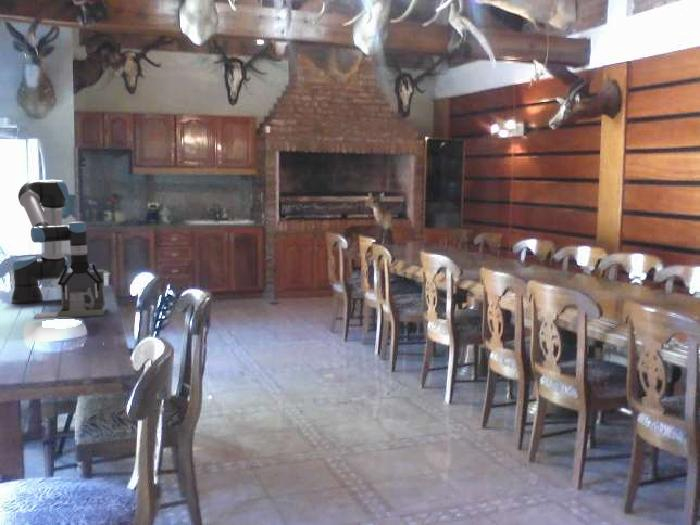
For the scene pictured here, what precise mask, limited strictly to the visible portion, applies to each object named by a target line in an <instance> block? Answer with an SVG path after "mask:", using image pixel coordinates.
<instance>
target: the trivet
mask: <svg viewBox="0 0 700 525" xmlns="http://www.w3.org/2000/svg"><path fill="white" fill-rule="evenodd" d="M50 317H54V318H58V311H57V312H39V313H36V314H35V315H34V316H33V319H50Z"/></svg>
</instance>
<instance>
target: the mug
mask: <svg viewBox="0 0 700 525" xmlns="http://www.w3.org/2000/svg"><path fill="white" fill-rule="evenodd" d="M84 295H88V296H89V297H90V300H91V302H90V303H89V304H87V303H85V301H84V300H85V298H84ZM69 301H70V309H69V311H80V310H86V307H89V308H90V309H93V307H94V301H95V299H94V297H93V295H92V292H91V290H90V287H89V288H88V290H87V293H84V292H71V293H70V299H69Z"/></svg>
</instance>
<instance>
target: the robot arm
mask: <svg viewBox="0 0 700 525" xmlns="http://www.w3.org/2000/svg"><path fill="white" fill-rule="evenodd" d="M17 195H18V196H17V198H18V202H19V204H20V206H22V207H23V208H24V210H25V213H26V215H27V217H28V219H29V222H30V223H31V224H30V225H31V229H30V237H31V238H30V239H31V240H32V242H33V243H40V244H43V243H44V244H43V245H44V247H43V248H44V250H43V252H42V253H41V254H40V255H41V258H38V257H37V256H36V255H33V256H30V255H29V256H23V257H20V258H16V259H15V260H13V262H12V263H13V264H12V267H13V268H12V270H13V271H12V272H13V283H14V289H13V292H12V296H11V303H12V304H33V303H38V302H43V301H44V295H43V294H42V293H43V292H42V290H41V288H40V286H39V282H40V281H49V280H50V281H51V280H58V279H59V280H58V283H57V285H58V286H61V285H62V290H63V292H65V299H66V300H67V299H68V294H67V285H65V284H66V283H67V282H68V280H69V279H70V278H71V277H72V276H73V274H74V273H76V274H80V273H81V274H84V273H86V274H87V275H89V276H90V277H91V278H92V279H93V280H94V281H95V282H96V283H97V284H95V295H96V298H97V297H98V294H97V291H99V290H100V286H99V284H100V283H102V282H103V279H102V278H101V276H100V274H99V273H98V271H99V270H97V267H96V264H95V263H90V264H89V258H88V257H89V256H88V243H87V242H88V240H87V239H88V237H87V236H88V235H87V225H86V222H85V221H70V222H69V224H67V225H66V224H65V225H63V223H62V222H63V217H62V216H63V212H62V210H63V209H64V208H65V207H66V204H67V203H68V202H69V199H70V196H69V190H68V187H67V184H66V182H65V180H61V179H40V180H39V179H37V180H36V179H35V180H29V181H28V182H26V183H24V184H23V185H22V186H21V187H20V189H19V191H18V194H17ZM63 242H69V245H70V246H69V247H70V249H69V250H70V254H71V255H70V265H69V258H68V257H67V256H65V253H64V252H62V251H63V250H62V246H63V245H62V244H63ZM89 268H91V269H92V270H93V271H94V272H95V274H96V275H97V277H98V279H99V281H98V280H97V279H96V278H95V277H94V276H93V275H92V274H91V273H90V272H91V271H90V270H88V269H89ZM69 269H71V270H72V271H71V272H72V273H71V274H70V275H69V276H68V277H67V279H66V280H65V281H64V282H62V280H63V278H64V276H65V274H66V273H68V272H69V271H68V270H69ZM60 273H62V275H61V278H60Z"/></svg>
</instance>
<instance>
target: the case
mask: <svg viewBox="0 0 700 525" xmlns="http://www.w3.org/2000/svg"><path fill="white" fill-rule="evenodd" d="M97 271H98V273H99V274H100V276H101V278H102V279H103V282H102V283H100V284H99V286H100V290H99V291H97V294H98V297H97V298H96V295H95V284H97V283H96V282H95V281H94V280H93V279H92V278H91V277H90V276H89V275H87V274H86V273H84V274H81V273H80V274H76V273H74V274H73V276H72V277H71V278H70V279H69V280H68V282H67V283H66V284H65V285H67V294H68V299H67V300H66V299H65V292H63V290H62V285H60V292H61V294H60V295H61V297H60V298H61V306H60V308H59V310H57V312H58V316H57V318H58V317H75V318H87V317H88V318H89V317H91V318H92V317H104V314H105V311H106V296H105V279H104V278H105V276H104V270H97ZM89 272H90V273H91V274H92V275H93V276H94V277H95V278H96V279H97V280H98V281H99V279H98V277H97V275H96V274H95V272H94V270H93V271H89ZM71 273H72V271H71V272H69V271H68V272H67V273H66V274H65V276H64V278H63V280H62V282H64V281H65V280H66V279H67V277H68V276H69V275H70V274H71ZM61 275H62V273H60V278H61ZM89 287H90V290H91V292H92V295H93V297H94V299H95V301H94V307H93V309H90V308H89V307H86V310H80V311H69V309H70V301H69V299H70V293H71V292H84V293H87V290H88V288H89ZM84 298H85V300H84V301H85V303H87V304H89V303H90V302H91V300H90V297H89V296H88V295H84Z"/></svg>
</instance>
